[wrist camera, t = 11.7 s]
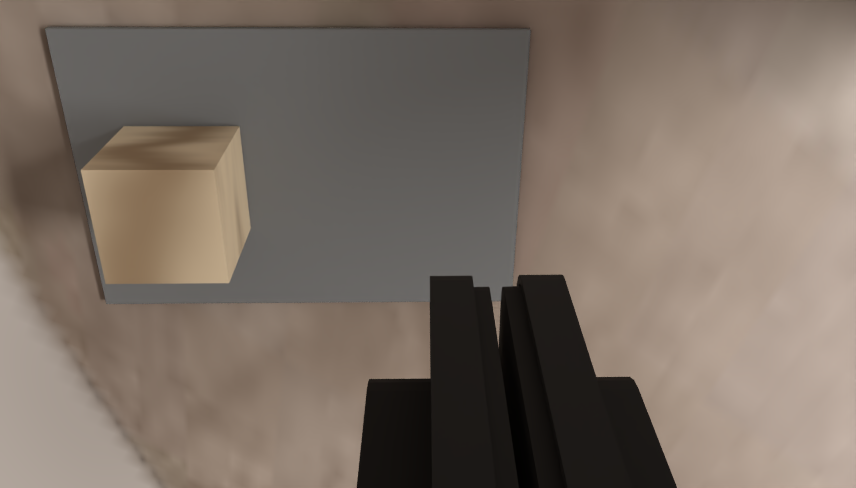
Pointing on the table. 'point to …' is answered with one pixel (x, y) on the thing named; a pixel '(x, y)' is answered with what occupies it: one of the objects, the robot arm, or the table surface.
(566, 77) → the table surface
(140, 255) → the cube
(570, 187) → the table surface
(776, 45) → the table surface
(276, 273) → the mat
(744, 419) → the table surface
